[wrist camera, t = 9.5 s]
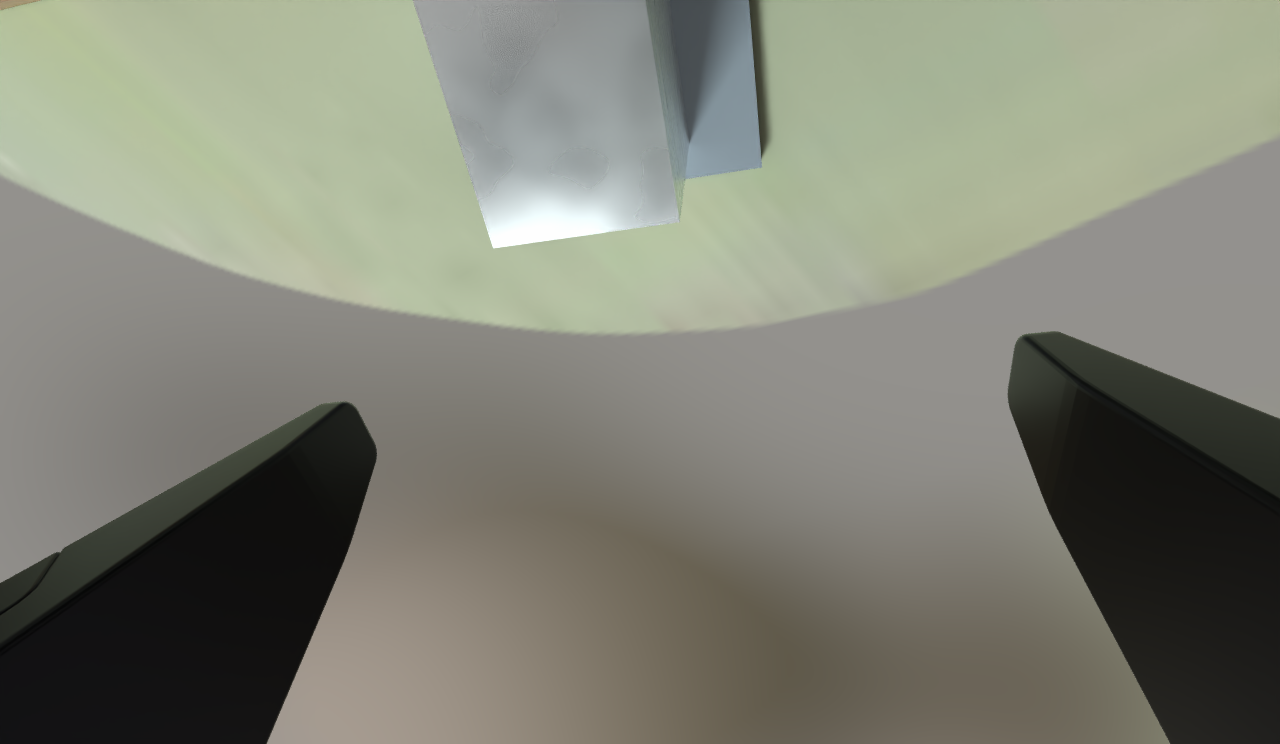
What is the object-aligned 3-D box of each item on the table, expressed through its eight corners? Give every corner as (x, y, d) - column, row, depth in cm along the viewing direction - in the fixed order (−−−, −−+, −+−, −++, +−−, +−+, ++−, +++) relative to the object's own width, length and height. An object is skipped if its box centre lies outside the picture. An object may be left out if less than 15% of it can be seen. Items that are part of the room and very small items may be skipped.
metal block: (645, -180, 14) (607, -244, 9) (689, 143, 18) (679, 222, 13) (475, -136, 15) (356, -174, 10) (552, 165, 19) (493, 247, 14)
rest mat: (727, -260, 14) (727, -268, 13) (760, 161, 19) (762, 167, 18) (387, -168, 15) (376, -171, 15) (500, 200, 20) (494, 207, 20)
